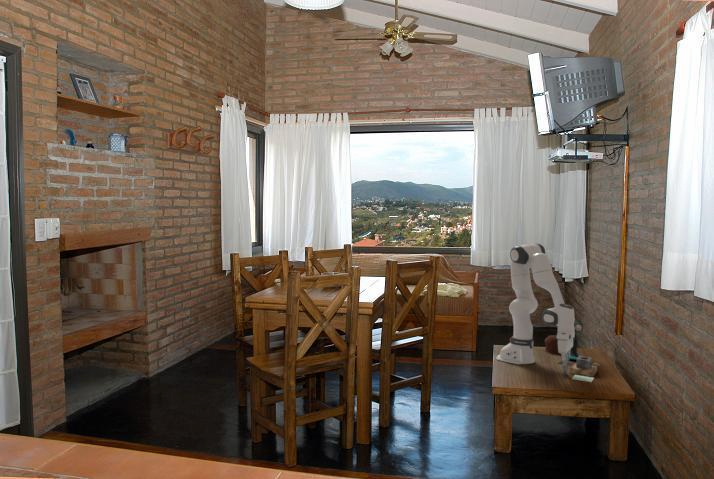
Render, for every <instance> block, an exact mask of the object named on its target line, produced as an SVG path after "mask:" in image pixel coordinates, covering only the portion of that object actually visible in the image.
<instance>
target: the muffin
mask: <svg viewBox="0 0 714 479" xmlns="http://www.w3.org/2000/svg"><path fill="white" fill-rule="evenodd" d="M543 341H544V345H545V346H544V347H545V351H546V352H548V353H552V354H558V353H559V352H558V339H557V335H554V334H553V335H551V334H550V335H548V336H547V337H546V338H545V339H544V340H543ZM559 354H560V353H559Z"/></svg>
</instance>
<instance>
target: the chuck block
mask: <svg viewBox="0 0 714 479" xmlns="http://www.w3.org/2000/svg"><path fill="white" fill-rule="evenodd" d="M598 367H600V363H597V362H593V358H592V357H589V356H582V355H581V356H579V357H578V358H577V359H576V362H575V363H574V364H572V366H570V374H573V375H580V376H586V377H593V378H594V376H596V374H597V372H598Z"/></svg>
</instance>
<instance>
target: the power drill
mask: <svg viewBox="0 0 714 479" xmlns="http://www.w3.org/2000/svg"><path fill="white" fill-rule="evenodd" d="M574 328H575V337H574V338H573V347H572V348H571V350H570V356H569V357H568V361H569V362H570V360H576V359H577V358H578V357H579V356H582V355H581V353H578V345H579V344H578V333H581V332H582V331H583V329H584V326H583V324H582V322H581V321H580V320H579V319H577V318H575V321H574Z"/></svg>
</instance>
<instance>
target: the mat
mask: <svg viewBox="0 0 714 479" xmlns="http://www.w3.org/2000/svg"><path fill="white" fill-rule="evenodd" d="M571 380H576V381H582V382H587V383H592V382H593V380H595V377H594V376H593V377H592V376H585V375H579V374H573V376H572V378H571Z"/></svg>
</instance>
